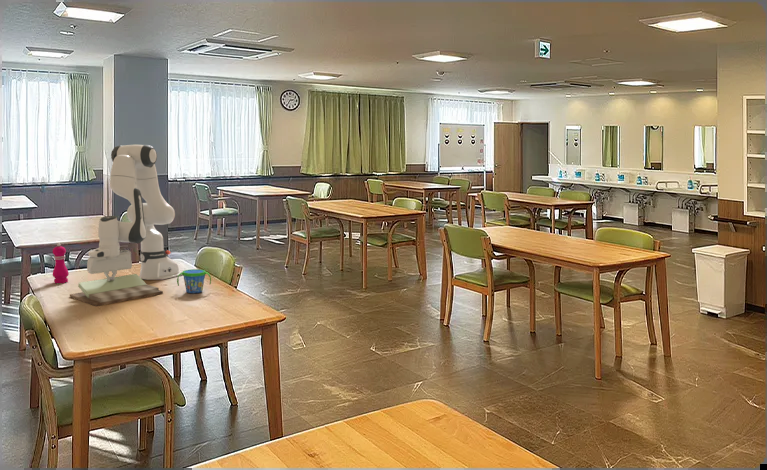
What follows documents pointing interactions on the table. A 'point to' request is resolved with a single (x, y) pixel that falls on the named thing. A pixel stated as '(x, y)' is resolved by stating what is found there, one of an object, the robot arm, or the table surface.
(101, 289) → the board
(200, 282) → the snack cup
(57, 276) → the pepper mill
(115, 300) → the floor board
